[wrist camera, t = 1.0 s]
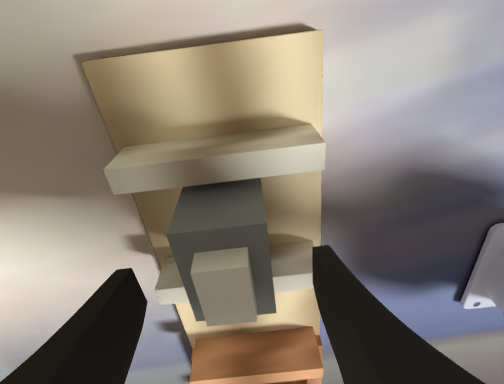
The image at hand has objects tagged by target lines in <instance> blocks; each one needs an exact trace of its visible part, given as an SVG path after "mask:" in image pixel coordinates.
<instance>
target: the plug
mask: <svg viewBox="0 0 504 384" xmlns="http://www.w3.org/2000/svg"><path fill="white" fill-rule="evenodd" d="M166 236H167V239H168V242H169V245H170V248H171V250H172V253H173V256H174V259H175V262H176V265H177V268H178V271H179V273H180V276H181V279H182V282H183V285H184V288H185V291H186V293H187V296H188V299H189V302H190V305H191V308H192V311H193V314H194V316H195V319H196V322H198V321H206V324H207V327H209V326H219V325H228V324H238V323H247V322H256V321H257V315H263V314H272V313H277V312H276V303H275V294H274V285H273V276H272V267H271V258H270V249H269V240H268V231H267V222H266V214H265V207H264V200H263V193H262V185H261V178H253V179H244V180H236V181H228V182H219V183H211V184H203V185H194V186H186V187H183V188H182V191H181V194H180V196H179V199H178V202H177V205H176V208H175V211H174V213H173V216H172V219H171V222H170V225H169V227H168V230H167V233H166Z"/></svg>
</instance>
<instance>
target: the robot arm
mask: <svg viewBox="0 0 504 384" xmlns="http://www.w3.org/2000/svg"><path fill="white" fill-rule="evenodd" d="M312 272H313V287H314V291H315V296H316V300H317V304H318V308H319V311H320V314H321V317H322V320H323V323H324V326H325V328H326V331H327V334H328V337H329V340H330V343H331V345H332V348H333V351H334V354H335V357H336V360H337V362H338V365H339V368H340V372H341V375H342V378H343V382H344V384H485V383H484V382H482V381H481V380H479V379H478V378H476V377H475V376H473V375H472V374H470V373H469V372H467V371H466V370H464V369H463V368H461V367H460V366H459V365H457V364H456V363H455V362H453V361H452V360H450V359H449V358H448V357H446V356H445V355H444V354H442V353H441V352H439V351H438V350H437V349H435V348H434V347H433V346H431V345H430V344H429V343H427V342H426V341H425V340H423V339H422V338H421V337H420V336H418V335H417V334H416V333H415V332H413V331H412V330H411V329H410V328H409V327H407V326H406V325H405V324H404V323H403V322H402V321H400V320H399V319H398V318H397V317H396V316H395V315H393V314H392V313H391V312H390V311H389V310H388V309H387V308H386V307H385V306H384V305H383V304H382V303H381V302H380V301H378V300H377V299H376V298H375V297H374V296H373V295H372V294H371V293H370V292H369V291H368V290H367V289H366V288H365V286H364V285H363V284H362V283H361V282H360V281H359V280H358V279H357V278H356V277H355V276H354V275H353V274H352V273H351V271H350V270H349V269H348V268H347V267H346V266H345V264H344V263H343V262H342V261H341V260H340V259H339V257H338V256H337V255H336V254H335V252H334V251H333V250H332V248H331V247H330V246H328V245H325V246H317V247H312ZM460 304H461V305H462V306H463V308H465V309H473V308H482V307H492V306H497V307H498V308H499V309H500V310H501V311H502V312H503V314H504V223H499V224H495V225H493V226H492V227H491V228H490V229H489V232H488V234H487V237H486V239H485V242H484V244H483V247H482V249H481V252H480V254H479V257H478V259H477V262H476V264H475V267H474V269H473V272H472V274H471V277H470V279H469V282H468V284H467V287H466V289H465V292H464V294H463V297H462V299H461V302H460ZM146 307H147V300H146V298H145V296H144V294H143V291H142V289H141V287H140V285H139V283H138V281H137V279H136V276H135V274H134V272H133V270H132V268H128V269H119V270H116V271H115V272H114V273H113V274H112V275H111V276H110V277H109V278H108V279H107V280H106V281H105V282H104V283H103V284H102V285H101V287H100V288H99V289H98V290H97V291H96V292H95V293H94V294H93V295H92V296H91V297H90V298H89V299H88V300H87V301H86V302H85V304H84V305H83V306H82V307H81V308H80V309H79V310H78V311H77V312H76V313H75V314H74V315H73V316H72V317H71V318H70V319H69V320H68V321H67V322H66V323H65V324H64V325H63V326H62V327H61V328H60V329H59V330H58V331H57V332H56V333H55V334H54V335H53V336H52V337H51V338H50V339H49V340H48V341H47V342H46V343H45V344H44V345H42V346H41V347H40V348H39V349H38V350H37V351H36V352H35V353H34V354H33V355H31V356H30V357H29V358H28V359H27V360H26V361H25V362H23V363H22V364H21V365H20V366H19V367H18V368H17V369H15V370H14V371H13V372H12V373H11V374H10V375H8V376H7V377H6V378H5V379H3V380H2V381H1V382H0V384H124V383H125V380H126V377H127V374H128V371H129V368H130V365H131V362H132V359H133V356H134V353H135V350H136V347H137V343H138V340H139V337H140V334H141V331H142V327H143V323H144V318H145V312H146Z"/></svg>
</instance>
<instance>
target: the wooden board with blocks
mask: <svg viewBox="0 0 504 384" xmlns="http://www.w3.org/2000/svg"><path fill="white" fill-rule="evenodd" d="M81 64H82V67H83V69H84V72H85V74H86V77H87V79H88V82H89V85H90V87H91V90H92V92H93V95H94V97H95V100H96V103H97V105H98V108H99V110H100V113H101V115H102V118H103V120H104V123H105V126H106V128H107V131H108V133H109V136H110V138H111V141H112V144H113V146H114V149H115V151H116V154H117V156H116V157H115V158H114V159H113V160H112V161H111V162H110V163H109V164H108V165H107V166H106V167H105V168H104V169H103V172H104V174H105V176H106V179H107V181H108V183H109V186H110V188H111V190H112V193H113V195H119V194H128V193H132V195H133V197H134V200H135V202H136V205H137V208H138V210H139V213H140V215H141V218H142V220H143V223H144V226H145V228H146V231H147V233H148V236H149V238H150V241H151V243H152V246H153V249H154V251H155V254H156V256H157V259H158V261H159V264H160V267H161V272H160V275H159V278H158V282H157V285H156V288H155V292H156V295H157V297H158V299H159V302H160V304H161V305H166V304H175V305H176V308H177V310H178V313H179V315H180V318H181V320H182V323H183V325H184V328H185V331H186V333H187V336H188V338H189V341H190V343H191V346H192V356H191V360H192V367H191V375H190V384H321V378H323V365H322V343H321V339H320V311H319V308H318V304H317V300H316V296H315V291H314V287H313V272H312V247H317V246H321V181H322V170H325V145H326V143H325V141H324V140H323V139H322V100H323V30H312V31H305V32H297V33H290V34H282V35H275V36H267V37H260V38H252V39H245V40H237V41H230V42H222V43H215V44H207V45H200V46H192V47H185V48H177V49H170V50H162V51H155V52H147V53H140V54H132V55H125V56H117V57H110V58H102V59H95V60H89V61H85V62H81ZM253 178H261V185H262V193H263V200H264V207H265V214H266V222H267V231H268V240H269V249H270V258H271V267H272V276H273V285H274V294H275V303H276V312H277V313H272V314H263V315H257V321H256V322H247V323H238V324H228V325H219V326H209V327H207V324H206V321H198V322H196V319H195V316H194V314H193V311H192V308H191V305H190V302H189V299H188V296H187V293H186V291H185V288H184V285H183V282H182V279H181V276H180V273H179V271H178V268H177V265H176V262H175V259H174V256H173V253H172V250H171V248H170V245H169V242H168V239H167V236H166V233H167V230H168V227H169V225H170V222H171V219H172V216H173V213H174V211H175V208H176V205H177V202H178V199H179V196H180V194H181V191H182V188H183V187H186V186H194V185H203V184H211V183H219V182H228V181H236V180H244V179H253Z"/></svg>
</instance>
